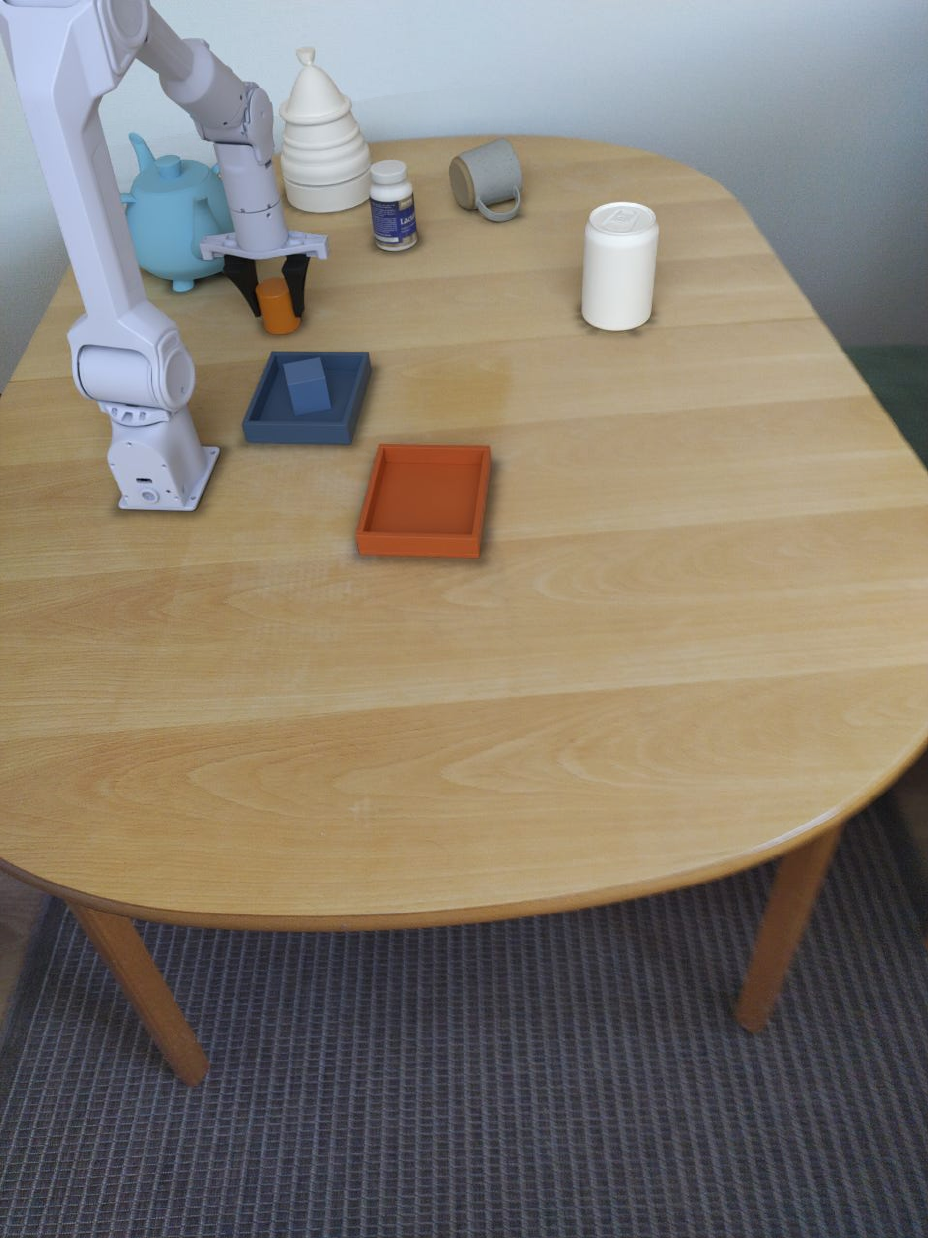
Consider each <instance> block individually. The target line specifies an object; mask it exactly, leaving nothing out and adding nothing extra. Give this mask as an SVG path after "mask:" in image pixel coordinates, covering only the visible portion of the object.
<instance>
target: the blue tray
mask: <svg viewBox="0 0 928 1238" xmlns="http://www.w3.org/2000/svg"><path fill="white" fill-rule="evenodd" d="M318 357H320V360H321V363H322V367H323V371H324V375H325V379H326V384H327V389H328V394H329V398H330V403H331V409H328V410H323V411H317V412H312V413H307V414H302V415H297V416H295V414H294V410H293V406H292V401H291V397H290V393H289V389H288V385H287V380H286V375H285V371H284V366H283V364H287V363H292V362H297V361H302V360H308V359H313V358H318ZM371 376H372V364H371V357H370V352H369V351H286V350H285V351H284V350H283V351H277V350H276V351H275V350H274V351H273V350H272V351H270V354H269V357H268V359H267V362H266V364H265V367H264V369H263V371H262V374H261V377H260V379H259V382H258V384H257V386H256V389H255V391H254V394H253V395H252V398H251V400H250V403H249V405H248V408H247V410H246V413H245V415H244V418H243V420H242V422H241V426H242V430H243V433H244V437H245V440H246V443H247V444H292V445H294V444H296V445H297V444H298V445H345V446H346V445H350V446H351V445H352V441H353V438H354V434H355V430H356V427H357V423H358V420H359V418H360V417H359V416H360V413H361V410H362V406H363V403H364V399H365V396H366V392H367V389H368V385H369V382H370V378H371Z"/></svg>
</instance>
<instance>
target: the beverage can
mask: <svg viewBox="0 0 928 1238" xmlns="http://www.w3.org/2000/svg"><path fill="white" fill-rule="evenodd" d="M656 218H657V217H656V213H655V211H653V210H652V209H651V208H650V207H649V206H646V205H645V204H641V203H638V202H631V201H614V202H608V203H605V204H602V205H600V206H598V207H595V208H594V209H593V210H592V211H591V212H590V213H589V218H588V220H587V222H586V224H585V226H584V230H583V231H584V232H583V257H582V258H583V259H582V263H583V264H582V283H581V284H582V285H581V288H582V289H581V316H582V318H583V319H584V320H585V322H587V323H588V324H590V325H591V326H592V327H595V328H597V329H600V330H605V331H613V332H621V331H627V330H628V331H629V330H632V329H635V328H638V327H639V326H642V325H643V324H644V323H646V322H647V321H648V320H649V319H650V317H651V315H652V309H653V297H654V287H655V279H656V278H655V276H656V268H657V257H658V256H657V255H658V246H659V236H660V227H659V224H658V222H657V220H656Z"/></svg>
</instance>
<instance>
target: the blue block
mask: <svg viewBox="0 0 928 1238" xmlns="http://www.w3.org/2000/svg"><path fill="white" fill-rule="evenodd" d="M283 366H284V371H285V375H286V380H287V385H288V389H289V393H290V397H291V401H292V406H293V410H294V414H295V416H297V415H302V414H307V413H312V412H317V411H323V410H328V409H331V403H330V398H329V394H328V389H327V384H326V379H325V375H324V371H323V367H322V363H321V360H320V357H318V358H313V359H308V360H302V361H297V362H292V363H287V364H283Z"/></svg>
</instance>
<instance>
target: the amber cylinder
mask: <svg viewBox="0 0 928 1238" xmlns="http://www.w3.org/2000/svg"><path fill="white" fill-rule="evenodd" d="M255 291H256V295H257V299H258V303H259V307H260V311H261V318H262V319H261V320H262V323H263V327H264V330H265V331H266V332H267V333H269V334H272V335H287V334H290V333H292V332H295V331H296V330H297V329H298V328H299V327H300V326H301V322H302V321H301V317H295V315H294V312H293V307H292V301H291V295H290V292H289V289H288V286H287V283H286V280H285V278H284V277H270V278H267V279H265V280H262V281H261V282H259V284H258V285H257V287H256V290H255Z"/></svg>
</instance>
